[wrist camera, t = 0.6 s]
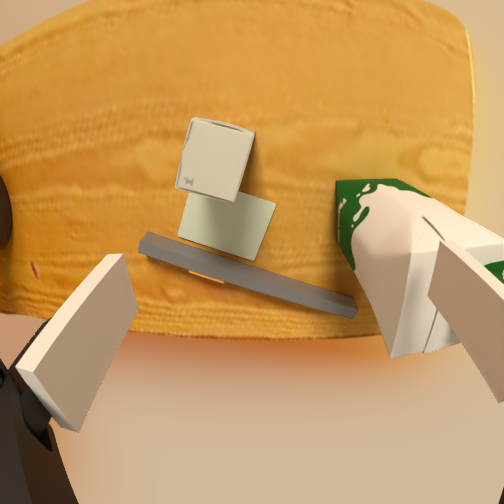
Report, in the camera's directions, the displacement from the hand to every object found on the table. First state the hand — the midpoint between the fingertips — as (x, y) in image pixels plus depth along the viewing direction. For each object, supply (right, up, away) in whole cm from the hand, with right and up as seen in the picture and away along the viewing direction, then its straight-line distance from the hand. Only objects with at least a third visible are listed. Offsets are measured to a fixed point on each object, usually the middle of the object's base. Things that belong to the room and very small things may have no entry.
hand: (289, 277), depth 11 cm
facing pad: (-4, +4, +20) cm, 21 cm away
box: (-4, +11, +17) cm, 21 cm away
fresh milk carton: (+11, +6, +19) cm, 23 cm away
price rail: (-1, -1, +23) cm, 23 cm away
